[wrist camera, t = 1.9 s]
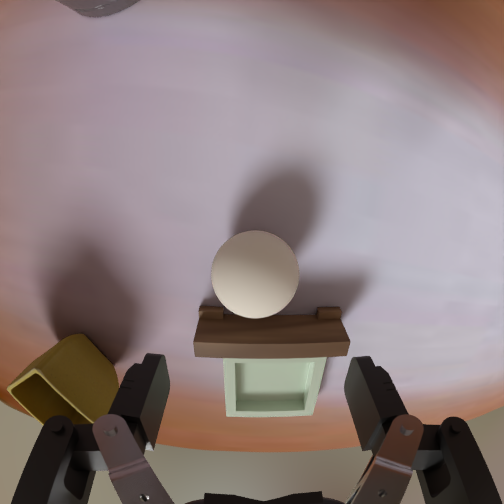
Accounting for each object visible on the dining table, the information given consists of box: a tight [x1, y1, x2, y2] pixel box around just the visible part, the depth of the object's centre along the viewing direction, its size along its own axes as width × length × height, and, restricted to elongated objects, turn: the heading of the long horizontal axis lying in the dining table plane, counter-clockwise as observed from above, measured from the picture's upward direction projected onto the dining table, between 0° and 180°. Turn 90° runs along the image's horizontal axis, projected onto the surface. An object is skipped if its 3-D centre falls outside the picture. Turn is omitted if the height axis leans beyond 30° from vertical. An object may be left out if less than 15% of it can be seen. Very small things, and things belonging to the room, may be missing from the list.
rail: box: [193, 306, 350, 359], centre depth 24 cm, size 3×12×4 cm, turn 89°
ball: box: [211, 230, 299, 318], centre depth 21 cm, size 6×6×6 cm
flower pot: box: [7, 334, 119, 425], centre depth 23 cm, size 9×9×9 cm
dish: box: [223, 357, 327, 417], centre depth 27 cm, size 9×9×2 cm
